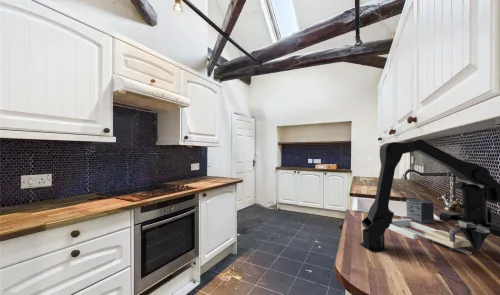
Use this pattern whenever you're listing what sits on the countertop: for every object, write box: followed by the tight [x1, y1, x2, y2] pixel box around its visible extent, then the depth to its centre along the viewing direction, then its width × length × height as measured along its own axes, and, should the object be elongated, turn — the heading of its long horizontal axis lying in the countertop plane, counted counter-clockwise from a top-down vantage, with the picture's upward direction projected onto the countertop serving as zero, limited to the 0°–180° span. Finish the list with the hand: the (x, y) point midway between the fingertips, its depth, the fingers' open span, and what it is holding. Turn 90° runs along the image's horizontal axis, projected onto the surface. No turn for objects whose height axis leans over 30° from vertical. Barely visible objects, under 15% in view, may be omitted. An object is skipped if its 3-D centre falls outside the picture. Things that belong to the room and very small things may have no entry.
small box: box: [405, 197, 435, 225], centre depth 106 cm, size 11×6×10 cm, turn 179°
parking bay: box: [387, 218, 473, 255], centre depth 85 cm, size 14×29×3 cm, turn 9°
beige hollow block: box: [423, 228, 473, 251], centre depth 78 cm, size 8×10×7 cm
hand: (477, 249), depth 69 cm, fingers closed
